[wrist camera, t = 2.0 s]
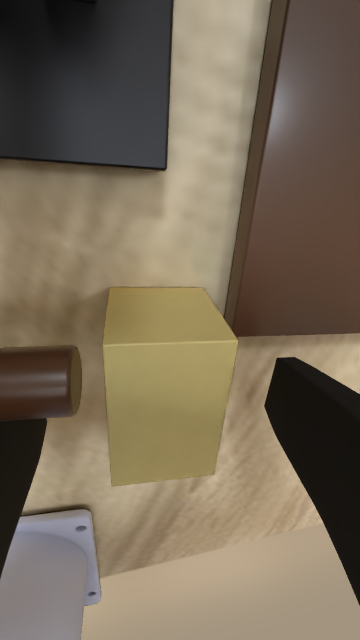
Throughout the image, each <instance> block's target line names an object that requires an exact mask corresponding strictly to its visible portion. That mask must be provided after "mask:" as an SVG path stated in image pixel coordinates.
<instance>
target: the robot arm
mask: <svg viewBox="0 0 360 640" xmlns="http://www.w3.org/2000/svg"><path fill="white" fill-rule="evenodd" d="M264 407H265V410H266V412H267V415H268V417H269V420H270V423H271V425H272V427H273V430H274V432H275V435H276V437H277V439H278V440H279V442H280V444H281V446H282V448H283V450H284V451H285V453H286V455H287V457H288V459H289V461H290V462H291V464H292V466H293V468H294V469H295V471H296V473H297V475H298V477H299V478H300V480H301V482H302V484H303V486H304V487H305V489H306V491H307V493H308V494H309V496H310V498H311V500H312V502H313V503H314V505H315V507H316V509H317V511H318V513H319V515H320V517H321V519H322V521H323V523H324V525H325V527H326V529H327V531H328V534H329V536H330V538H331V540H332V542H333V545H334V547H335V549H336V551H337V553H338V556H339V558H340V560H341V562H342V565H343V567H344V569H345V572H346V574H347V577H348V579H349V581H350V584H351V586H352V588H353V591H354V593H355V595H356V598H357V600H358V603H359V605H360V394H358V393H357V392H355V391H353V390H352V389H350V388H348V387H346V386H345V385H343V384H341V383H340V382H338V381H336V380H335V379H333V378H331V377H330V376H328V375H326V374H324V373H323V372H321V371H319V370H318V369H316V368H314V367H312V366H311V365H309V364H307V363H305V362H303V361H301V360H299V359H297V358H295V357H287V358H277V360H276V364H275V367H274V371H273V375H272V379H271V382H270V386H269V390H268V394H267V398H266V401H265V405H264ZM46 426H47V419H46V418H43V419H30V420H16V421H3V422H0V640H81V631H82V621H83V609H84V606H88V605H93V604H96V603H98V602H99V601H100V600H101V586H100V579H99V571H98V563H97V555H96V547H95V539H94V531H93V523H92V515H91V512H90V511H88V510H86V509H78V510H70V511H62V512H54V513H47V514H39V515H31V516H23V517H20V516H21V513H22V510H23V507H24V504H25V501H26V498H27V495H28V492H29V489H30V486H31V483H32V480H33V477H34V474H35V471H36V468H37V465H38V462H39V459H40V455H41V450H42V446H43V441H44V436H45V431H46Z"/></svg>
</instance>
